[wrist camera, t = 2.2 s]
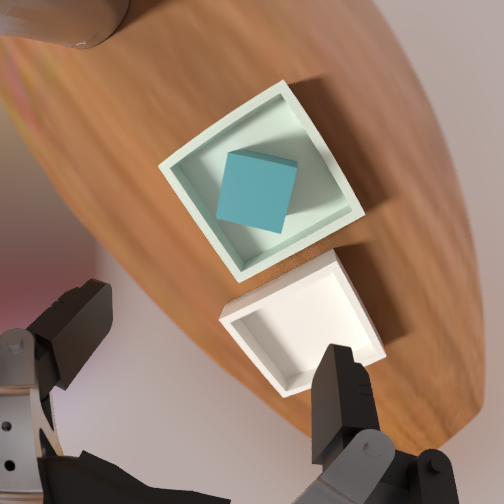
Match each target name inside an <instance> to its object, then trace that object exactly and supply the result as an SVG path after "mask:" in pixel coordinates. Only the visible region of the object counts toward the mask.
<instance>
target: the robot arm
mask: <svg viewBox="0 0 504 504" xmlns="http://www.w3.org/2000/svg"><path fill="white" fill-rule="evenodd" d="M128 5H129V0H0V35H6V36H13V37H20V38H26V39H32V40H38V41H43V42H49V43H54V44H58V45H63V46H66V47H72V48H77V49H87V48H90V47H93V46H95V45H97V44H99V43H101V42H102V41H104V40H105V39H106V38H108V37H109V36H110V35H111V34H112V33H113V32H114V31H115V29H116V28H117V27H118V26H119V24H120V23H121V21H122V20H123V18H124V16H125V14H126V11H127V9H128ZM112 321H113V310H112V288H111V285H110V284H108V283H104V282H102V281H99V280H96V279H93V278H92V279H90V280H89V281H88V282H86V283H85V284H84V285H83V286H82V287H81V288H78V287H76V288H74V289H71V290H69V291H67V292H65V293H64V294H63V295H62V296H61V297H60V298H58V299H57V302H56V301H55V302H54V303H53V304H52V305H51V306H50V308H48V309H46V311H44V312H43V313H42V314H41V315H40V316H39V317H38V318H37V319H36V320H35V321H34V322H33V323H32V324H31V325H30V326H29V327H27V329H22V328H14V329H10V330H7V331H5V332H4V333H3V334H1V335H0V504H230V502H231V500H229V499H224V498H220V497H215V496H211V495H206V494H202V493H199V492H194V491H185V490H171V489H160V488H153V487H149V486H147V485H145V484H144V483H142V482H140V481H139V480H137V479H136V478H134V477H133V476H131V475H130V474H128V473H126V472H125V471H124V470H122V469H121V468H119V467H118V466H116V465H114V464H112V463H110V462H108V461H105V460H103V459H101V458H99V457H96V456H94V455H92V454H90V453H88V452H86V451H84V450H83V451H82V453H81V455H80V456H79V457H73V456H64V454H63V451H62V448H61V445H60V442H59V439H58V435H57V429H56V422H55V415H54V409H53V399H52V393H51V390H52V389H53V387H54V386H57V387H59V388H61V389H63V390H66V389H67V388H68V386H69V385H70V384H71V382H72V381H73V379H74V378H75V377H76V375H77V374H78V373H79V371H80V370H81V368H82V367H83V366H84V364H85V363H86V361H87V360H88V359H89V357H90V356H91V355H92V353H93V352H94V351H95V350H96V348H97V347H98V345H99V344H100V343H101V342H102V340H103V339H104V338H105V336H106V335H107V334H108V333H109V331H110V329H111V325H112ZM311 404H312V464H320V465H323V473H321V475H319V477H318V478H317V479H316V480H315V481H314V482H313V483H312V484H311V485H310V486H309V487H308V488H307V489H306V490H305V491H304V492H303V493H302V494H301V495H300V496H299V497H298V498H297V499H295V500H294V501H293V502H292V503H291V504H459V500H458V494H457V489H456V484H455V479H454V474H453V469H452V465H451V462H450V460H449V458H448V457H447V456H446V455H445V454H444V453H443V452H441V451H439V450H436V449H428V450H425V451H423V452H422V453H421V454H420V455H419V456H418V457H417V456H414V455H411V454H408V453H404V452H401V451H398V450H396V449H395V447H394V444H393V442H392V441H391V439H390V438H389V437H388V436H387V435H386V434H384V433H382V432H381V431H380V426H379V421H378V416H377V411H376V406H375V401H374V397H373V392H372V388H371V383H370V378H369V374H368V372H367V371H366V370H365V368H364V367H363V365H362V364H361V363H357V362H354V357H353V352H352V349H351V347H348V346H343V345H337V344H332V343H330V344H329V345H328V347H327V349H326V351H325V353H324V355H323V357H322V359H321V361H320V363H319V365H318V367H317V369H316V371H315V374H314V376H313V380H312V385H311Z"/></svg>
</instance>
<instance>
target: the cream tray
mask: <svg viewBox="0 0 504 504" xmlns="http://www.w3.org/2000/svg"><path fill="white" fill-rule="evenodd" d="M219 321H220V322H221V323H222V324H223V326H224V327H225V328H226V330H227V331H228V332H229V333H230V335H231V336H232V337H233V338H234V340H235V341H236V342H237V343H238V344H239V346H240V347H241V348H242V349H243V351H244V352H245V353H246V354H247V356H248V357H249V358H250V359H251V360H252V362H253V363H254V364H255V365H256V366H257V368H258V369H259V370H260V371H261V372H262V373H263V375H264V376H265V377H266V378H267V379H268V381H269V382H270V383H271V384H272V385H273V386H274V388H275V389H276V390H277V391H278V392H279V393H280V394H281V396H282V397H283V398H284V397H287V396H290V395H293V394H296V393H299V392H302V391H304V390H307V389H310V388H311V385H312V380H313V376H314V374H315V371H316V369H317V367H318V365H319V363H320V361H321V359H322V357H323V355H324V353H325V351H326V349H327V347H328V345H329V344H330V343H332V344H337V345H343V346H348V347H351V349H352V352H353V357H354V362H357V363H361V364H362V365H363V367H365V366H367V365H369V364H371V363H373V362H376V361H378V360H380V359H382V358H384V357H386V353H385V350H384V346H383V343H382V340H381V338H380V336H379V334H378V332H377V330H376V328H375V326H374V324H373V322H372V320H371V318H370V316H369V314H368V312H367V310H366V308H365V306H364V304H363V302H362V300H361V298H360V297H359V295H358V293H357V291H356V289H355V287H354V285H353V283H352V282H351V280H350V278H349V276H348V274H347V272H346V270H345V269H344V267H343V265H342V263H341V261H340V260H339V258H338V256H337V254H336V252H335V251H334V249H331V250H329V251H327V252H325V253H323V254H321V255H319V256H318V257H316V258H314V259H312V260H310V261H308V262H306V263H304V264H303V265H301V266H299V267H297V268H295V269H293V270H291V271H289V272H287V273H285V274H283V275H282V276H280V277H278V278H276V279H274V280H272V281H270V282H268V283H266V284H264V285H262V286H260V287H258V288H256V289H254V290H252V291H250V292H248V293H246V294H244V295H242V296H240V297H239V298H237V299H235V300H233V301H231V302H229V303H227V304H225V306H224V308H223V311H222V313H221V316H220V318H219Z"/></svg>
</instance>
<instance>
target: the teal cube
mask: <svg viewBox="0 0 504 504" xmlns="http://www.w3.org/2000/svg"><path fill="white" fill-rule="evenodd" d="M296 172H297V161H293V160H289V159H284V158H280V157H276V156H272V155H267V154H263V153H258V152H253V151H249V150H244V149H238V150H234V151H231V152H228V154H227V159H226V164H225V169H224V175H223V180H222V185H221V191H220V196H219V202H218V207H217V213H216V218H217V219H221V220H225V221H229V222H233V223H238V224H242V225H246V226H250V227H254V228H258V229H262V230H266V231H271V232H275V233H279V234H281V233H282V229H283V225H284V221H285V217H286V213H287V209H288V205H289V201H290V197H291V193H292V188H293V184H294V180H295V176H296Z"/></svg>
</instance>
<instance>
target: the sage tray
mask: <svg viewBox="0 0 504 504" xmlns="http://www.w3.org/2000/svg"><path fill="white" fill-rule="evenodd" d="M238 149H244V150H249V151H253V152H258V153H263V154H267V155H272V156H276V157H280V158H284V159H289V160H293V161H297V172H296V176H295V180H294V184H293V188H292V193H291V197H290V201H289V205H288V209H287V213H286V217H285V221H284V225H283V229H282V233H281V234H279V233H275V232H271V231H266V230H262V229H258V228H254V227H250V226H246V225H242V224H238V223H233V222H229V221H225V220H221V219H217V218H216V213H217V207H218V202H219V196H220V191H221V185H222V180H223V175H224V169H225V164H226V159H227V154H228V152H231V151H234V150H238ZM158 167H159V169H160V170H161V172H162V173H163V175H164V176H165V177H166V179H167V180H168V182H169V183H170V185H171V186H172V188H173V189H174V191H175V192H176V194H177V195H178V197H179V198H180V200H181V201H182V203H183V204H184V206H185V207H186V208H187V210H188V211H189V213H190V214H191V216H192V217H193V219H194V220H195V222H196V223H197V224H198V226H199V227H200V229H201V230H202V232H203V233H204V235H205V236H206V237H207V239H208V240H209V242H210V243H211V245H212V246H213V247H214V249H215V250H216V252H217V253H218V255H219V256H220V257H221V259H222V260H223V262H224V263H225V265H226V266H227V267H228V269H229V270H230V272H231V273H232V274H233V276H234V277H235V279H236V280H237V281H238V283H240V282H242V281H244V280H246V279H248V278H250V277H251V276H253V275H255V274H257V273H259V272H261V271H263V270H265V269H267V268H268V267H270V266H272V265H274V264H276V263H278V262H280V261H281V260H283V259H285V258H287V257H289V256H291V255H293V254H294V253H296V252H298V251H300V250H302V249H304V248H306V247H307V246H309V245H311V244H313V243H315V242H317V241H318V240H320V239H322V238H324V237H326V236H328V235H329V234H331V233H333V232H335V231H337V230H339V229H340V228H342V227H344V226H346V225H348V224H349V223H351V222H353V221H355V220H357V219H358V218H360V217H362V216H364V215H365V213H364V211H363V209H362V207H361V205H360V203H359V201H358V199H357V198H356V196H355V194H354V192H353V190H352V188H351V187H350V185H349V183H348V181H347V179H346V178H345V176H344V174H343V172H342V171H341V169H340V167H339V165H338V164H337V162H336V160H335V158H334V157H333V155H332V153H331V152H330V150H329V148H328V147H327V145H326V143H325V142H324V140H323V139H322V137H321V135H320V134H319V132H318V131H317V129H316V127H315V126H314V124H313V123H312V121H311V120H310V118H309V117H308V115H307V113H306V112H305V110H304V109H303V107H302V106H301V104H300V103H299V101H298V100H297V98H296V97H295V96H294V94H293V93H292V91H291V90H290V88H289V87H288V85H287V84H286V83H285V81H284V80H282V81H280V82H279V83H277V84H275V85H274V86H272V87H270V88H269V89H267V90H265V91H264V92H262V93H260V94H259V95H257V96H256V97H254V98H252V99H251V100H249V101H248V102H246V103H245V104H243V105H242V106H240V107H239V108H237V109H235V110H234V111H232V112H231V113H229V114H228V115H226V116H225V117H224V118H222V119H221V120H219V121H218V122H216V123H215V124H213V125H212V126H211V127H209V128H208V129H206V130H205V131H203V132H202V133H201V134H199V135H198V136H197V137H195V138H194V139H192V140H191V141H190V142H188V143H187V144H186V145H184V146H183V147H182V148H180V149H179V150H178V151H176V152H175V153H174V154H172V155H171V156H170V157H169V158H167V159H166V160H165V161H163V162H162V163H161V164H160V165H158Z"/></svg>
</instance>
